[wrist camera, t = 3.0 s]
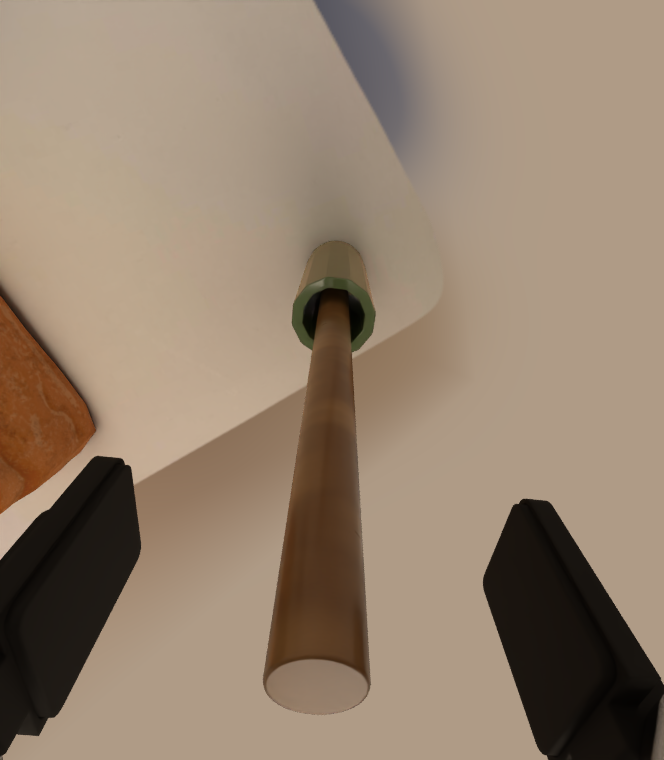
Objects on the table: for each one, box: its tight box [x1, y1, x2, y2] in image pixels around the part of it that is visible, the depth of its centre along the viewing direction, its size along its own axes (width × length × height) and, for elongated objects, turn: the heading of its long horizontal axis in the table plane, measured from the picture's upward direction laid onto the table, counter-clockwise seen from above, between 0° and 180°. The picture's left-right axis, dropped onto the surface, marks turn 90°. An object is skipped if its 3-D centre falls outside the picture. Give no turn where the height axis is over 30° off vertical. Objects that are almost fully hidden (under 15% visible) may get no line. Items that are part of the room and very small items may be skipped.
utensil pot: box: [292, 241, 376, 352], centre depth 29 cm, size 5×5×12 cm
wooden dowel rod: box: [263, 288, 371, 715], centre depth 20 cm, size 2×2×30 cm
